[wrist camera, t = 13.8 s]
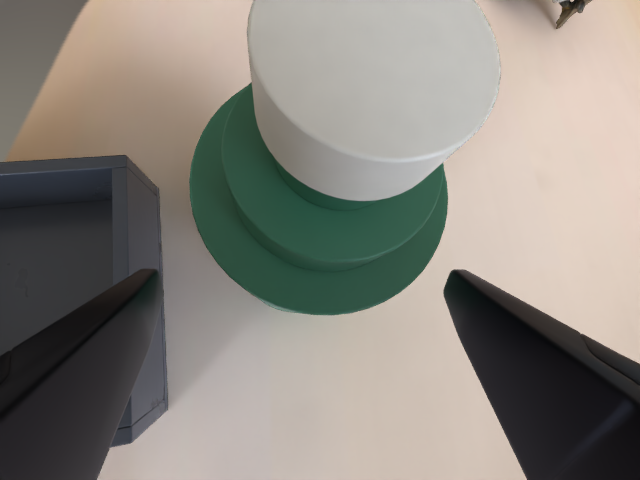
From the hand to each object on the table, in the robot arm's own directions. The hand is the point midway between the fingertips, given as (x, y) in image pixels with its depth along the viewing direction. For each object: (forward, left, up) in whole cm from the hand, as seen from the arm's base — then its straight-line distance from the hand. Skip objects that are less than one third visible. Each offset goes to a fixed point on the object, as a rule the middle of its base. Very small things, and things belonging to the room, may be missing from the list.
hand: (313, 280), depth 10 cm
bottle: (+2, 0, -8) cm, 8 cm away
